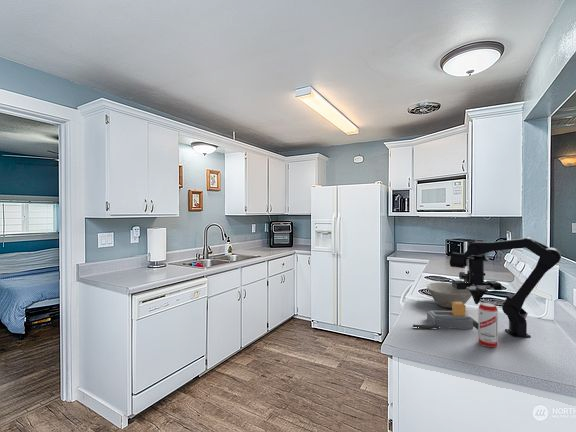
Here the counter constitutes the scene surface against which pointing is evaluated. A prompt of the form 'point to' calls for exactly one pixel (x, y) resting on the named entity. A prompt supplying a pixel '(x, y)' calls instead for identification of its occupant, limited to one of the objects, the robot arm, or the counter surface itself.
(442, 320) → the power strip
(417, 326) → the cord
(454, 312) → the knob
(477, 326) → the cord
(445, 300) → the ceramic bowl
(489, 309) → the beer can
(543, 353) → the counter surface
